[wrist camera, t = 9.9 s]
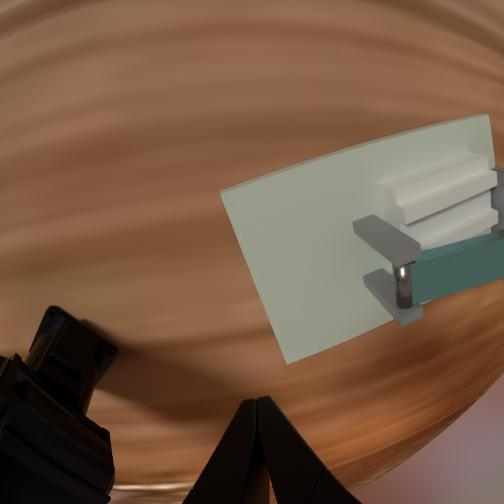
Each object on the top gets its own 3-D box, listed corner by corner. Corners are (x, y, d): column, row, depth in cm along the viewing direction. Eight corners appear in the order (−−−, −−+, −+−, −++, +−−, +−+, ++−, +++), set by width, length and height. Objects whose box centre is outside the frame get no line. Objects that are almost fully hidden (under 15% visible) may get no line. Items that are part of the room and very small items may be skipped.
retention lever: (400, 321, 16) (565, 266, 13) (395, 263, 15) (572, 212, 11) (393, 301, 18) (550, 252, 14) (386, 245, 16) (555, 200, 13)
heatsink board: (284, 356, 24) (304, 416, 18) (219, 190, 19) (225, 221, 13) (490, 257, 24) (534, 286, 18) (482, 113, 18) (540, 121, 13)
